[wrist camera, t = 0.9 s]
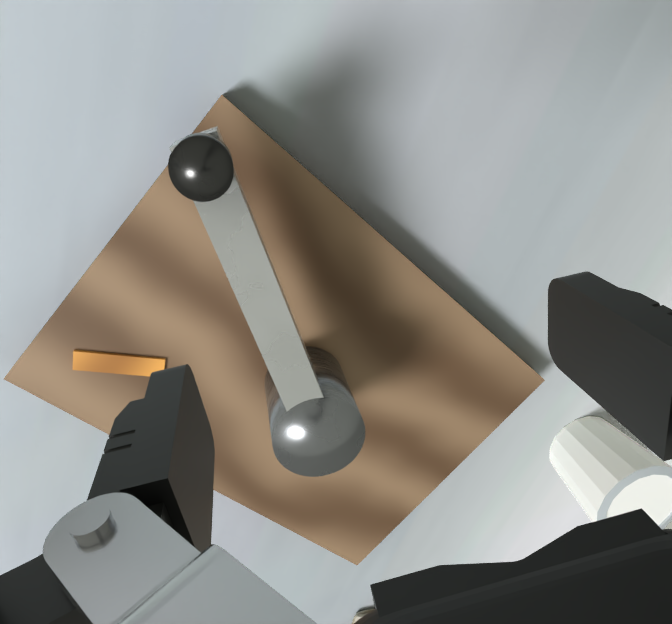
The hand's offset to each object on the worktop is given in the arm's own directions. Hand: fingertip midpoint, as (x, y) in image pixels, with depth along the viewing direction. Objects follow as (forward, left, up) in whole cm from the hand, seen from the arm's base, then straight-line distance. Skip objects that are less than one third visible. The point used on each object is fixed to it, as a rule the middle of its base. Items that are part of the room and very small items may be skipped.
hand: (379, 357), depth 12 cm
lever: (+5, +2, -19) cm, 20 cm away
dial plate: (+8, +8, -21) cm, 24 cm away
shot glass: (0, +31, -21) cm, 38 cm away
